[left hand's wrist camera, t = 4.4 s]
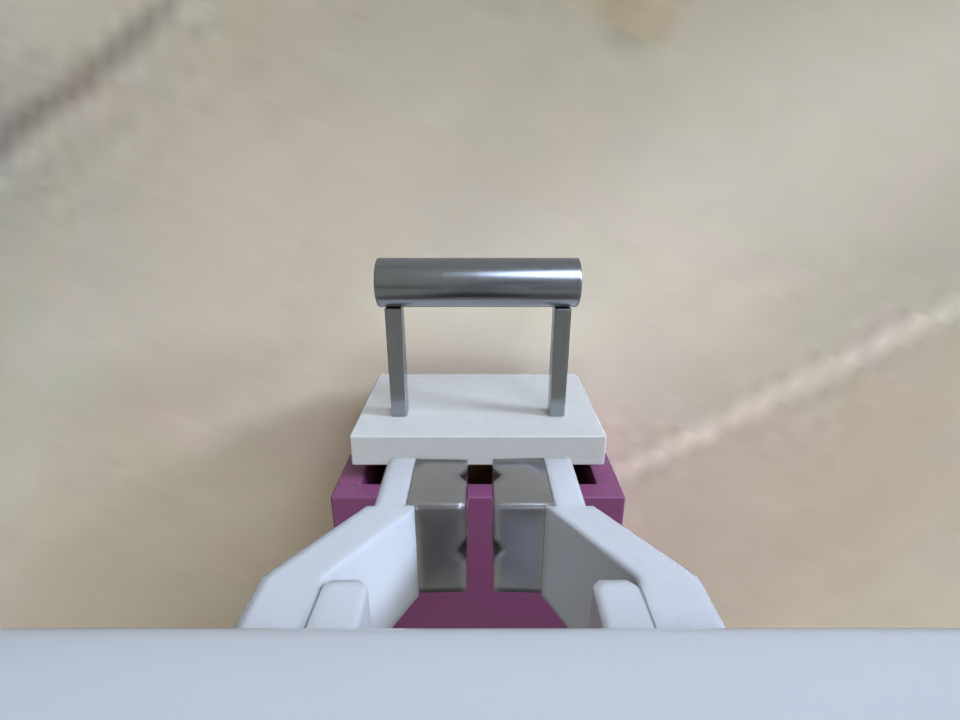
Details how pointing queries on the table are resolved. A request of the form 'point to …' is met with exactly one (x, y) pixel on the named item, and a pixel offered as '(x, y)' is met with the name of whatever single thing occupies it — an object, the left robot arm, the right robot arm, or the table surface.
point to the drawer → (478, 397)
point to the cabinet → (477, 553)
